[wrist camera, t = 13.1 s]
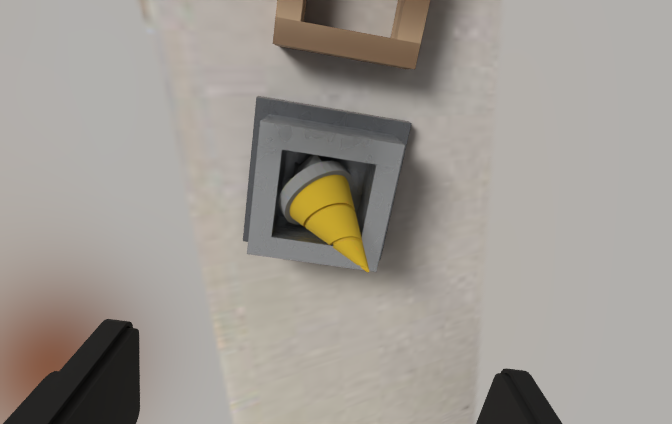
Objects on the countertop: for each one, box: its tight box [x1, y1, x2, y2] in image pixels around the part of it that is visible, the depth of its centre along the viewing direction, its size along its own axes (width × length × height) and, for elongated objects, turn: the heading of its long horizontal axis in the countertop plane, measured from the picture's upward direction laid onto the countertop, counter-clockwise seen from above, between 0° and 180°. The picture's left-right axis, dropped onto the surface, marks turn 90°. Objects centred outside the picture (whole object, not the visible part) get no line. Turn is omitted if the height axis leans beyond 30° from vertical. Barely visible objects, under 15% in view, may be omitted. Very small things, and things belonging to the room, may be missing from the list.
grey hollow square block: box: [243, 96, 411, 272], centre depth 28 cm, size 11×11×5 cm
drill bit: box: [278, 154, 369, 272], centre depth 26 cm, size 5×5×10 cm
